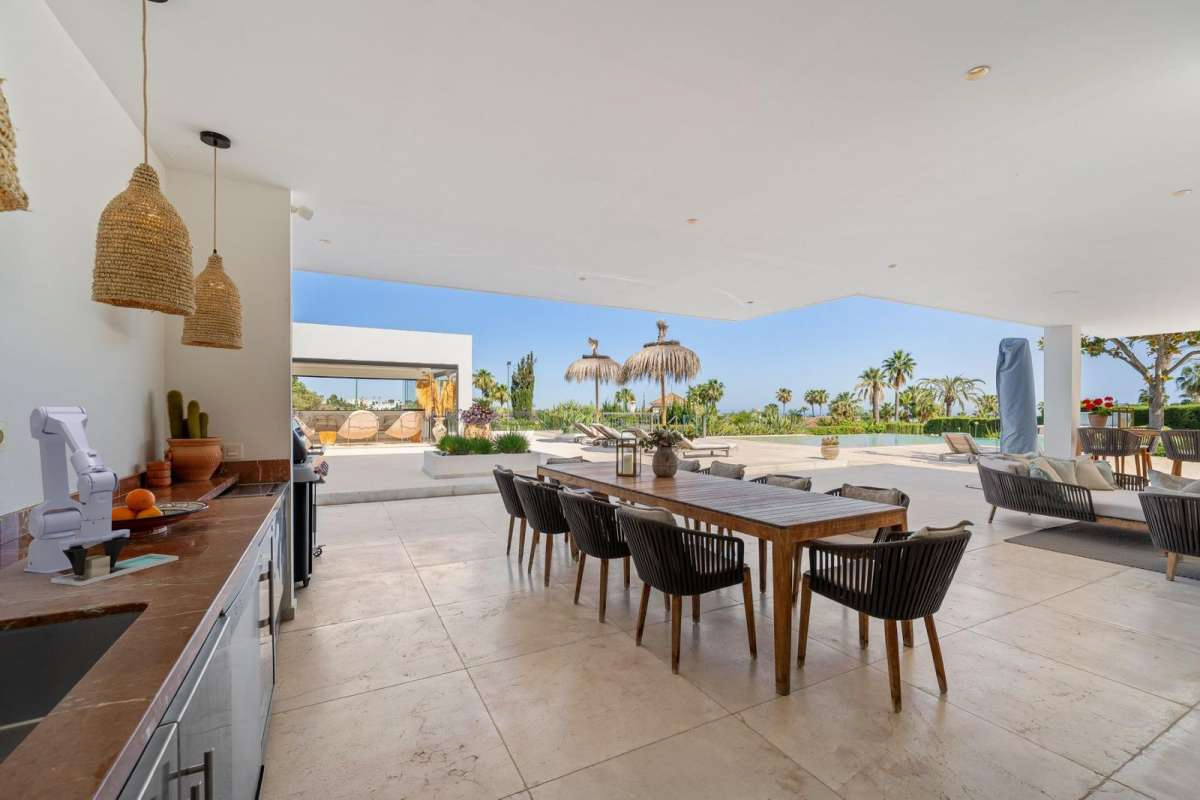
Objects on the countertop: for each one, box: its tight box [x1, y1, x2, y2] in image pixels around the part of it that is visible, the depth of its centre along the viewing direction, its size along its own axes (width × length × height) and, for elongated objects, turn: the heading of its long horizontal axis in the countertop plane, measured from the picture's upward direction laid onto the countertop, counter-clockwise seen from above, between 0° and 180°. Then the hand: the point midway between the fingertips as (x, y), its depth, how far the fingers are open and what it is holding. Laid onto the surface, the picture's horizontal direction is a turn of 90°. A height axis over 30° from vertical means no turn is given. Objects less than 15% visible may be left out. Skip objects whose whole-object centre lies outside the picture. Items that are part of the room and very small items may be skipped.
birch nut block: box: [79, 554, 111, 580], centre depth 135 cm, size 4×4×5 cm
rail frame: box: [50, 553, 179, 587], centre depth 141 cm, size 10×24×1 cm, turn 167°
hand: (95, 571), depth 135 cm, fingers open, 6 cm apart
